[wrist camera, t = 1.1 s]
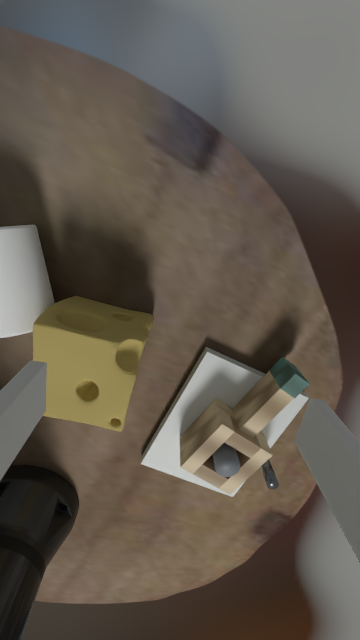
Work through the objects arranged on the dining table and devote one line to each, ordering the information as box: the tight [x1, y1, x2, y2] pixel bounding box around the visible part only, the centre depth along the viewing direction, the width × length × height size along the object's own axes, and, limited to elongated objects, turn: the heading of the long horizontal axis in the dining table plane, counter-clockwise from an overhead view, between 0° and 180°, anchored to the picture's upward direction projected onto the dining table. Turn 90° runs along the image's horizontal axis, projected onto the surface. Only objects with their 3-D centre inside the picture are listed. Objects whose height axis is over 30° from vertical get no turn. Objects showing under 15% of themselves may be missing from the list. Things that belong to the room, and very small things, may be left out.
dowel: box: [261, 459, 279, 489], centre depth 38 cm, size 1×1×6 cm
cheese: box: [33, 296, 154, 432], centre depth 31 cm, size 10×11×10 cm
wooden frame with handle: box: [180, 357, 309, 494], centre depth 36 cm, size 18×8×5 cm, turn 143°
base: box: [141, 347, 309, 497], centre depth 37 cm, size 20×16×8 cm
